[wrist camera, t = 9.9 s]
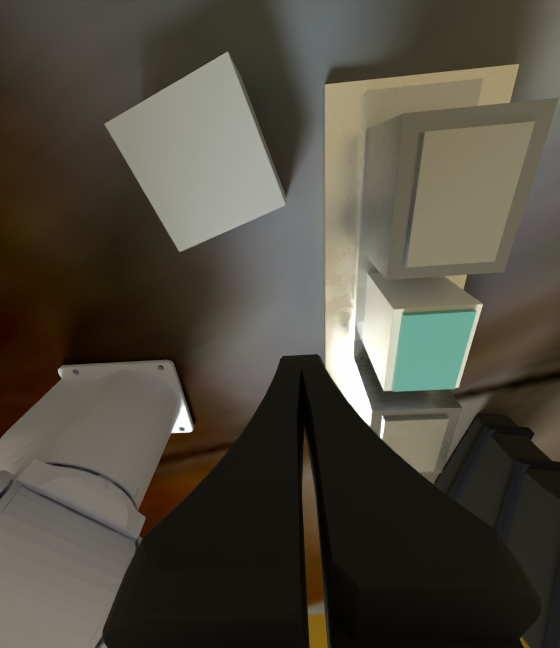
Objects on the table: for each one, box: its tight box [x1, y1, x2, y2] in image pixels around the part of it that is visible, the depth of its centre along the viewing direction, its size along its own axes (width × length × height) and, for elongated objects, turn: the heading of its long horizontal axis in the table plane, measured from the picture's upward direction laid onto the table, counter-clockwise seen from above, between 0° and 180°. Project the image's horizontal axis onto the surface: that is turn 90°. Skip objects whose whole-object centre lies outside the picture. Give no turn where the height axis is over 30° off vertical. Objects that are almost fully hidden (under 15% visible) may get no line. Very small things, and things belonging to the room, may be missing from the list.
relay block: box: [105, 52, 286, 252], centre depth 15 cm, size 6×6×4 cm
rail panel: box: [323, 64, 558, 474], centre depth 17 cm, size 9×24×7 cm, turn 5°
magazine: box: [434, 414, 560, 648], centre depth 23 cm, size 4×13×15 cm, turn 174°
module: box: [363, 273, 483, 392], centre depth 17 cm, size 4×5×5 cm
